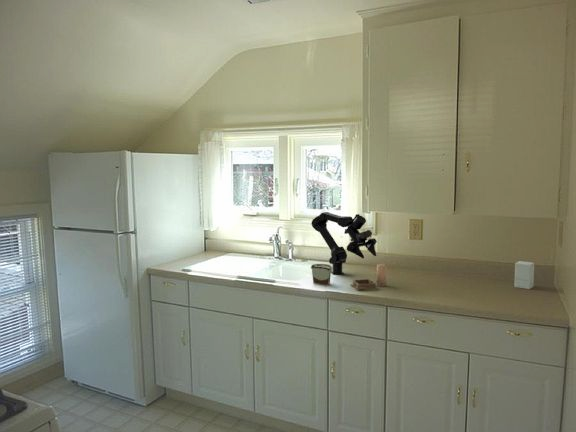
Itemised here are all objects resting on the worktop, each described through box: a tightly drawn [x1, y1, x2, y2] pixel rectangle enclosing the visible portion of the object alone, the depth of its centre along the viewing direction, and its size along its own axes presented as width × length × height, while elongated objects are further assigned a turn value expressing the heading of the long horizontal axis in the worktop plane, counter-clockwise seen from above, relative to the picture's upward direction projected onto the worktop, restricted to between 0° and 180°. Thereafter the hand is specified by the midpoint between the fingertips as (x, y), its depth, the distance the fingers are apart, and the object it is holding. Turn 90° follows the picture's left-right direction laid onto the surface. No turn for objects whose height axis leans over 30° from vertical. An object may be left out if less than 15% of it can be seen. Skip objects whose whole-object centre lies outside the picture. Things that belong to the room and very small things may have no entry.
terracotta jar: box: [376, 263, 387, 288], centre depth 231 cm, size 5×5×11 cm
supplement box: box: [513, 260, 535, 290], centre depth 225 cm, size 7×7×13 cm
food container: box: [310, 263, 333, 286], centre depth 237 cm, size 12×6×10 cm, turn 56°
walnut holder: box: [350, 278, 379, 292], centre depth 228 cm, size 11×11×3 cm
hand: (369, 256), depth 236 cm, fingers open, 9 cm apart
